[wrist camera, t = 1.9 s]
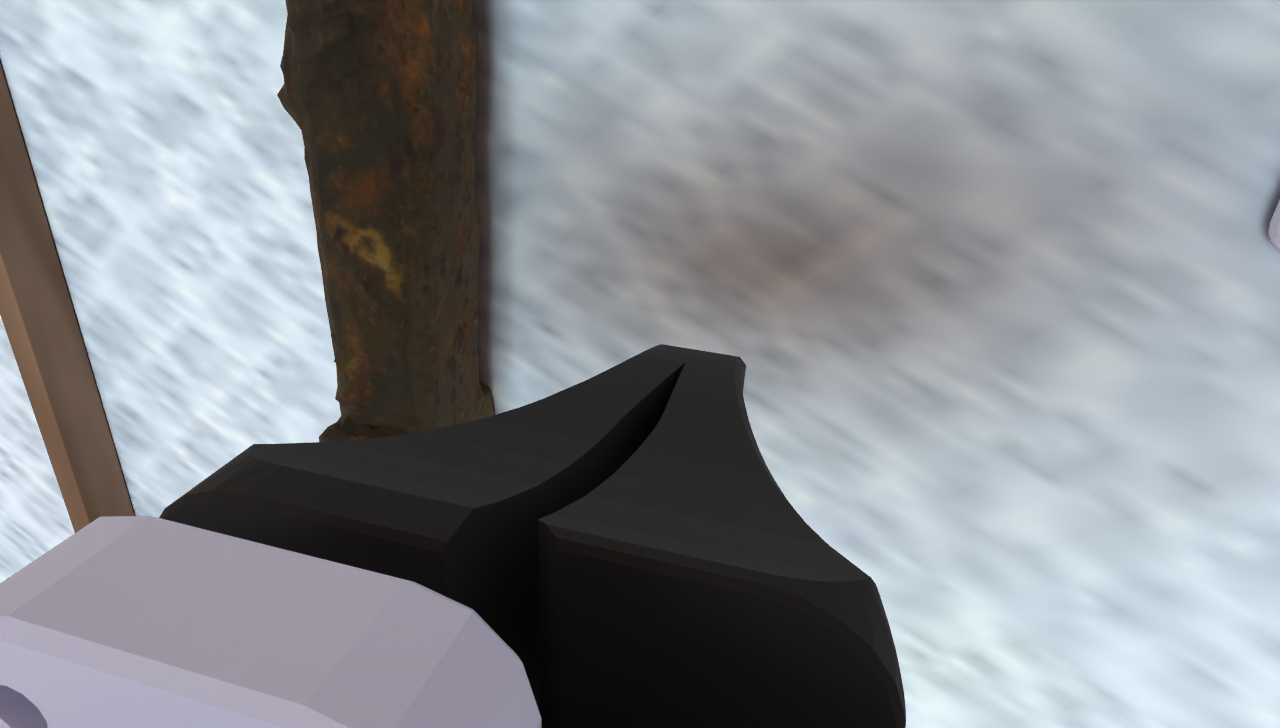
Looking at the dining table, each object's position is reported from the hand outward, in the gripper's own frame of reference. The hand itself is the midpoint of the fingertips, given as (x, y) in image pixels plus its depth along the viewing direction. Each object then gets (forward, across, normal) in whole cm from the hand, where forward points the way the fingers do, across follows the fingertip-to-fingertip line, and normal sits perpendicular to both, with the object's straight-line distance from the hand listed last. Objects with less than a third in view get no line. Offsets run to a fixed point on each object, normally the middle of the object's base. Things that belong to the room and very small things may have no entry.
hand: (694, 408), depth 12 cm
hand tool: (+6, +7, 0) cm, 9 cm away
